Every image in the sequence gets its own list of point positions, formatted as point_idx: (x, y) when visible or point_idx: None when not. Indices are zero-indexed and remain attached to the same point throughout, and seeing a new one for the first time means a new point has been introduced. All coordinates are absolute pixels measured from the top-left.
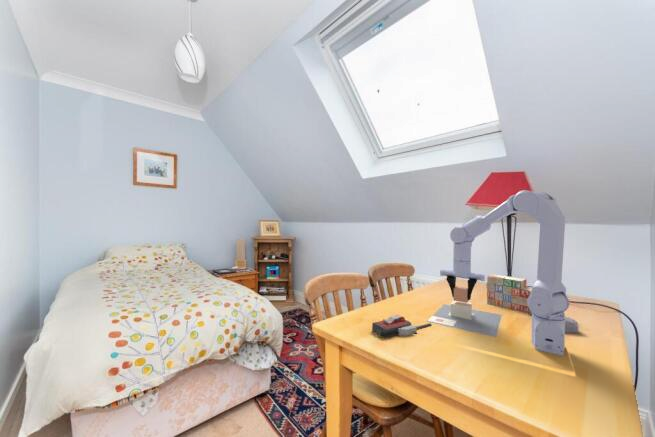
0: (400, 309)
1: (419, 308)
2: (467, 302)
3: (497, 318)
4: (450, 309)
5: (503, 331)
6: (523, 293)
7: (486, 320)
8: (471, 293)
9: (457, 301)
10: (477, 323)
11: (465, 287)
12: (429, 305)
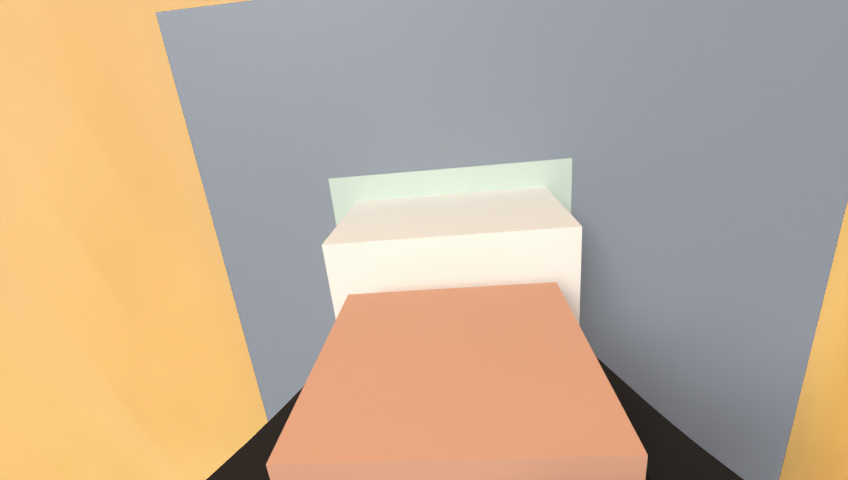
0: (4, 415)
1: (69, 290)
2: (519, 244)
3: (826, 147)
4: (311, 183)
5: (816, 394)
6: None
7: (701, 295)
8: (656, 413)
9: (386, 289)
10: None
11: (535, 467)
12: (54, 114)
